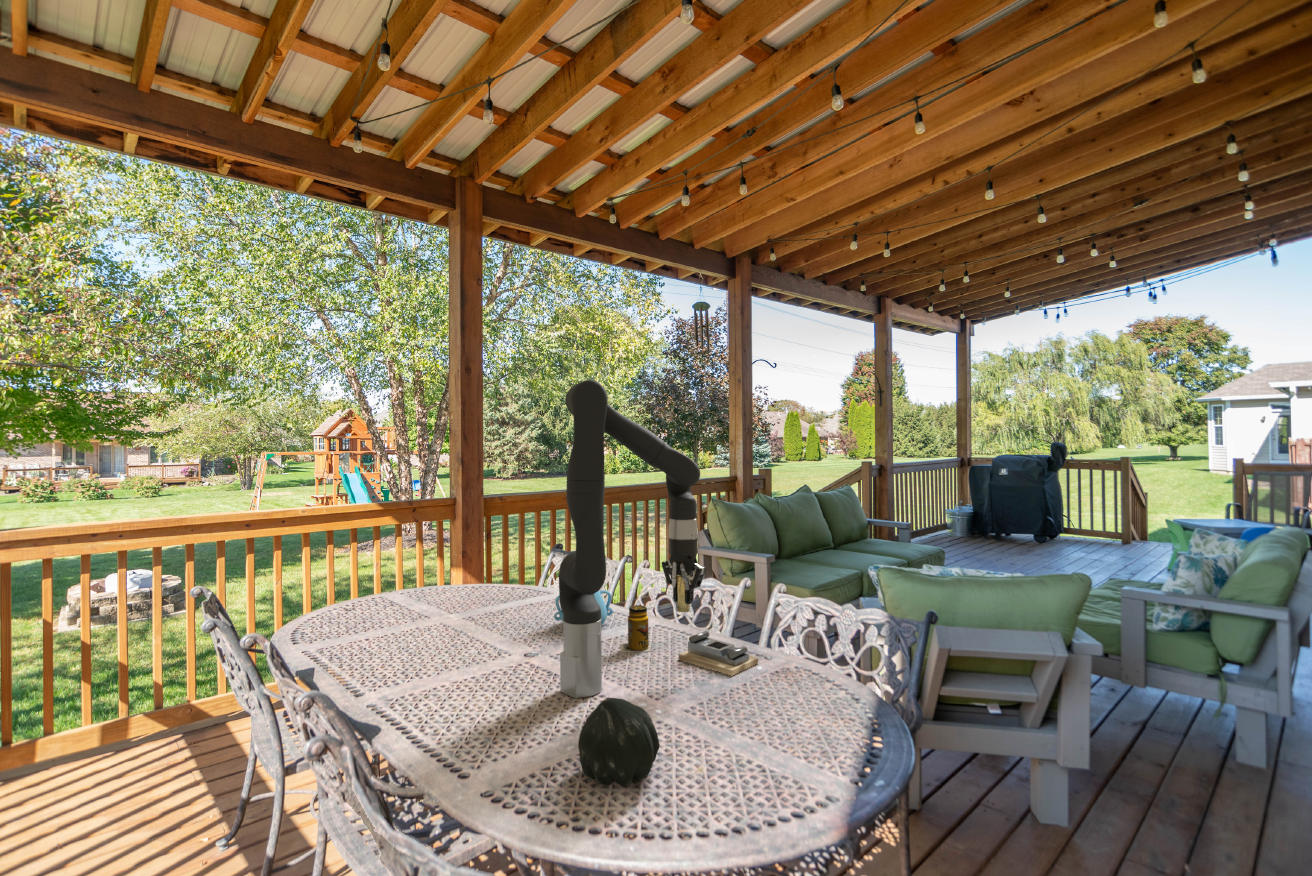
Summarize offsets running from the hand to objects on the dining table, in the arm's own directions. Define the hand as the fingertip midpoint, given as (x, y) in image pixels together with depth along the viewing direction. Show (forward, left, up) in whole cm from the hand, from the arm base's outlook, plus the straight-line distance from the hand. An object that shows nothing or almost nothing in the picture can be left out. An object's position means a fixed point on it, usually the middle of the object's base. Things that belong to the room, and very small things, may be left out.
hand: (683, 602), depth 157 cm
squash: (-44, -22, -19) cm, 53 cm away
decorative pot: (+10, +52, -19) cm, 56 cm away
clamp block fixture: (+13, -1, -19) cm, 23 cm away
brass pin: (0, 0, -2) cm, 2 cm away
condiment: (+6, +24, -19) cm, 31 cm away
